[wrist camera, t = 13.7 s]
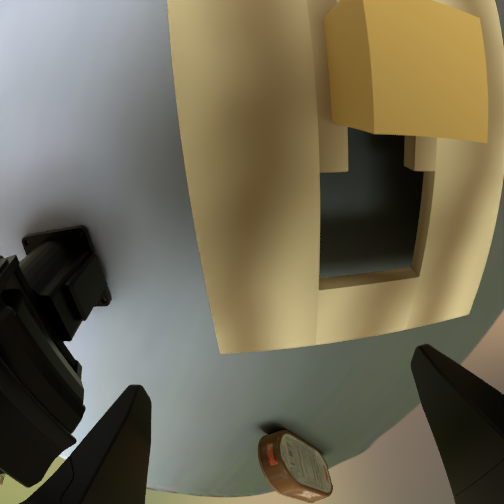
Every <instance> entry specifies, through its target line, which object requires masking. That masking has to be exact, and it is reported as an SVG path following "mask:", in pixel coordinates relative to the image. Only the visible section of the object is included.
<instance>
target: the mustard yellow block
mask: <svg viewBox="0 0 504 504" xmlns="http://www.w3.org/2000/svg"><path fill="white" fill-rule="evenodd" d="M323 23H324V31H325V40H326V49H327V59H328V70H329V83H330V97H331V113H332V123H335V124H339V125H343V126H347V127H351V128H355V129H358V130H362V131H365V132H369V133H372V134H388V135H409V136H424V137H437V138H447V139H457V140H466V141H473V142H481V143H487V139H488V85H487V70H486V59H485V50H484V42H483V35H482V29H481V23H480V18H478V17H476V16H473V15H471V14H468V13H466V12H463V11H461V10H458V9H456V8H453V7H450V6H447V5H445V4H442V3H439V2H436V1H432V0H341V1H340V2H338V3H337V4H336V5H335V6H334V7H333V8H332V9H331V10H330V11H329V12H328V13H327V14H326V15H325V16H324V17H323Z"/></svg>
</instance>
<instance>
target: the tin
mask: <svg viewBox="0 0 504 504" xmlns="http://www.w3.org/2000/svg"><path fill="white" fill-rule="evenodd" d="M258 458H259V463H260V466H261V469H262V472H263V474H264V476H265V478H266V480H267V481H268V483H269V484H270V485H271V487H272V488H273V489H274V490H275V491H276V492H278V493H280V494H282V495H284V496H288V497H291V498H295V499H298V500H302V501H305V502H308V503H313V502H315V501H317V500H321V499H323V498H326V497H328V496H330V495H331V493H332V490H333V485H332V483H331V479H330V475H329V471H328V466H327V464H326V462H325V460H324V458H323V457H322V455H321V454H320V453H319V451H318V450H317V449H315V448H314V447H312V446H311V445H309V444H308V443H306V442H305V441H303V440H302V439H300V438H299V437H297V436H296V435H294V434H293V433H291V432H289V431H287V430H281V431H278V432H275V433H273V434H270V435H265V436H263V437H262V438H261V439H260V441H259V444H258Z"/></svg>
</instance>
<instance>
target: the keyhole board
mask: <svg viewBox="0 0 504 504" xmlns="http://www.w3.org/2000/svg"><path fill="white" fill-rule="evenodd" d="M340 1H341V0H167V6H168V20H169V34H170V46H171V57H172V67H173V77H174V86H175V95H176V104H177V112H178V120H179V128H180V135H181V143H182V150H183V157H184V164H185V171H186V177H187V184H188V190H189V196H190V202H191V208H192V214H193V220H194V226H195V232H196V237H197V243H198V248H199V254H200V259H201V264H202V269H203V275H204V280H205V285H206V290H207V294H208V299H209V304H210V309H211V314H212V318H213V323H214V327H215V332H216V337H217V341H218V345H219V350H220V354H228V353H243V352H255V351H267V350H277V349H286V348H295V347H304V346H312V345H319V344H326V343H333V342H340V341H346V340H353V339H359V338H364V337H370V336H376V335H381V334H386V333H391V332H396V331H401V330H406V329H411V328H415V327H420V326H424V325H428V324H433V323H437V322H441V321H445V320H449V319H453V318H457V317H460V316H464V315H468V314H469V312H470V309H471V307H472V304H473V301H474V298H475V296H476V293H477V290H478V287H479V284H480V281H481V277H482V274H483V271H484V267H485V264H486V260H487V257H488V253H489V249H490V245H491V241H492V237H493V233H494V228H495V224H496V219H497V214H498V208H499V203H500V197H501V190H502V183H503V176H504V47H503V40H502V33H501V27H500V22H499V17H498V12H497V7H496V3H495V0H432V1H436V2H439V3H442V4H445V5H447V6H450V7H453V8H456V9H458V10H461V11H463V12H466V13H468V14H471V15H473V16H476V17H478V18H480V23H481V29H482V35H483V42H484V50H485V59H486V70H487V85H488V139H487V143H481V142H473V141H466V140H457V139H447V138H437V137H424V136H409V135H405V147H404V166H405V167H407V168H409V169H411V170H413V171H424V175H423V187H422V197H421V207H420V215H419V223H418V230H417V236H416V243H415V249H414V255H413V260H412V265H411V267H410V268H403V269H395V270H387V271H380V272H371V273H363V274H355V275H346V276H338V277H329V278H320V279H319V261H320V173H327V172H348V127H347V126H343V125H339V124H335V123H332V113H331V97H330V83H329V70H328V59H327V49H326V40H325V31H324V23H323V17H324V16H325V15H326V14H327V13H328V12H329V11H330V10H331V9H332V8H333V7H334V6H335V5H336V4H337V3H338V2H340Z"/></svg>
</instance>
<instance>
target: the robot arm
mask: <svg viewBox="0 0 504 504" xmlns="http://www.w3.org/2000/svg"><path fill="white" fill-rule="evenodd" d="M79 231H81V232H82V233H83V235H81V234H80V232H79ZM27 241H28V242H27ZM22 244H23V247H24V250H25V252H26V255H27V256H26V257H25V258H24V259H23V260H22V261H21V262H20V263H19V260H18V258H17V256H16V255H13V256H10V257H7V258H3V256H0V474H7V475H9V476H10V477H12V478H13V479H15V480H16V481H18V482H19V483H21V484H22V485H24V486H25V487H31V486H33V485H35V484H37V483H38V482H40V481H41V480H42V478H43V477H44V475H45V473H46V471H47V470H48V468H49V467H50V465H51V463H52V462H53V461H54V460H55V458H56V457H58V456H59V455H60V454H61V453H62V452H63V451H64V450H65V449H67V448H69V447H71V446H72V445H74V444H75V443H76V439H75V438H74V437H73V436H72V435H71V434H72V433H73V432H74V430H75V429H76V427H77V426H78V424H79V423H80V421H81V419H82V417H83V414H84V412H85V406H84V405H83V399H84V388H83V385H82V382H81V374H82V366H81V365H80V363H79V362H78V361H77V360H75V359H74V357H73V356H72V354H71V353H70V351H69V350H68V349H67V347H66V346H65V344H64V343H63V342H64V341H71V340H72V338H73V336H74V335H75V333H76V331H77V329H78V327H79V326H80V324H81V322H82V321H85V320H86V319H87V318H88V316H89V314H90V312H91V311H92V309H93V307H96V306H108V305H109V304H110V302H111V297H110V294H109V291H108V289H107V286H106V285H107V283H106V280H105V278H104V275H103V272H102V269H101V266H100V263H99V260H98V257H97V255H96V254H95V251H94V248H93V245H92V242H91V239H90V236H89V232H88V230H87V228H86V227H84V226H75V227H69V228H63V229H57V230H52V231H46V232H41V233H35V234H30V235H26V236H25V237H24V238H23V239H22ZM103 298H104V299H106V300H104V299H103ZM411 370H412V373H413V376H414V380H415V383H416V387H417V390H418V394H419V397H420V401H421V404H422V407H423V410H424V412H425V415H426V417H427V420H428V422H429V425H430V427H431V430H432V433H433V436H434V438H435V441H436V444H437V446H438V449H439V452H440V455H441V458H442V461H443V464H444V467H445V470H446V473H447V476H448V479H449V482H450V486H451V489H452V492H453V496H454V500H455V503H456V504H504V394H501V392H499V391H498V390H496V389H495V388H493V387H492V386H490V385H489V384H488V383H486V382H484V381H483V380H482V379H480V378H479V377H477V376H476V375H474V374H473V373H471V372H470V371H468V370H467V369H465V368H464V367H462V366H461V365H459V364H458V363H456V362H455V361H453V360H452V359H450V358H449V357H447V356H446V355H444V354H443V353H441V352H440V351H438V350H437V349H435V348H434V347H432V346H431V345H429V344H423V345H420V346H417V347H416V349H415V352H414V355H413V358H412V361H411ZM150 447H151V400H150V398H149V396H148V394H147V393H146V391H145V389H144V388H143V386H141V385H129V386H128V387H127V388H126V389H125V391H124V392H123V393H122V394H121V395H120V396H119V398H118V399H117V400H116V401H115V402H114V404H113V405H112V406H111V407H110V408H109V409H108V411H107V412H106V413H105V414H104V415H103V417H102V418H101V419H100V420H99V421H98V422H97V424H96V425H95V426H94V427H93V428H92V430H91V431H90V432H89V433H88V434H87V435H86V437H85V438H84V439H83V440H82V441H81V443H80V444H79V445H78V446H77V447H76V449H75V450H74V451H73V452H72V453H71V455H70V456H69V457H68V458H67V459H66V460H65V462H64V463H63V464H62V465H61V466H60V467H59V469H58V470H57V471H56V472H55V473H54V474H53V475H52V476H51V477H50V478H49V479H48V480H47V481H46V482H45V483H44V484H43V485H42V486H41V487H39V488H38V489H37V491H35V492H34V493H33V494H32V495H31V496H30V497H29V498H27V499H26V500H25V501H23V502H21V503H19V504H145V495H146V484H147V474H148V465H149V456H150Z"/></svg>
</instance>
